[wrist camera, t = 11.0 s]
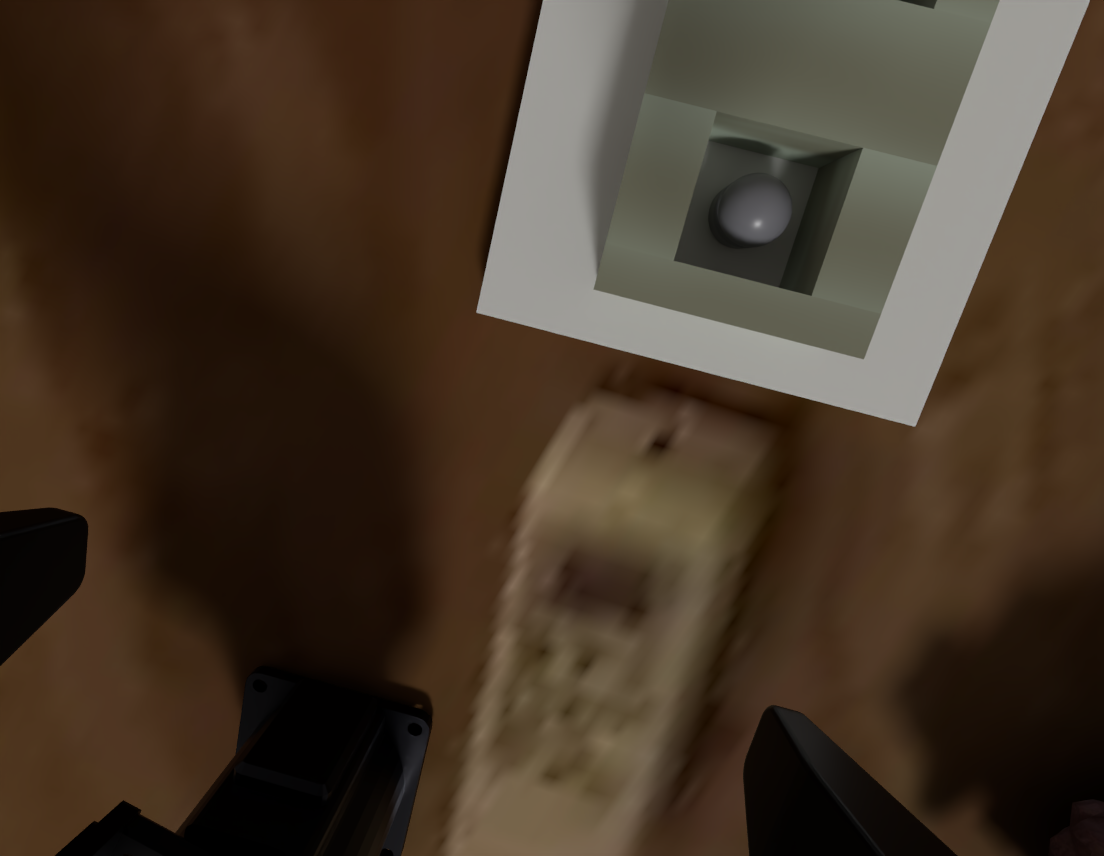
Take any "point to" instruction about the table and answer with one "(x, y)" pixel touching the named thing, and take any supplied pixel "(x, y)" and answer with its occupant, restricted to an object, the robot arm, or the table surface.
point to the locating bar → (795, 150)
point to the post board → (593, 170)
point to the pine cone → (1081, 831)
